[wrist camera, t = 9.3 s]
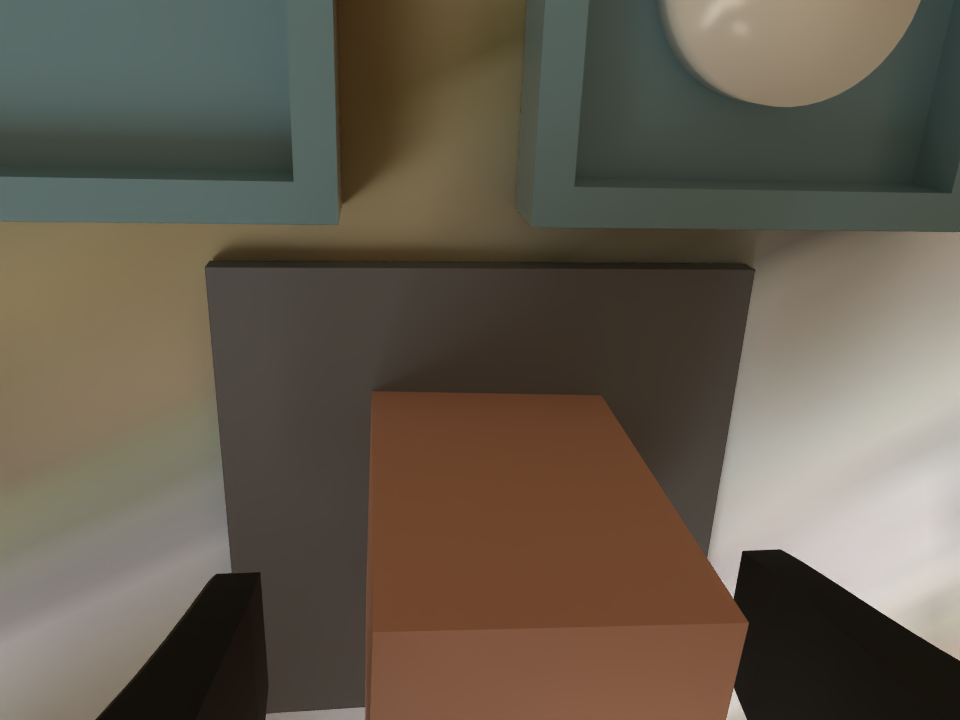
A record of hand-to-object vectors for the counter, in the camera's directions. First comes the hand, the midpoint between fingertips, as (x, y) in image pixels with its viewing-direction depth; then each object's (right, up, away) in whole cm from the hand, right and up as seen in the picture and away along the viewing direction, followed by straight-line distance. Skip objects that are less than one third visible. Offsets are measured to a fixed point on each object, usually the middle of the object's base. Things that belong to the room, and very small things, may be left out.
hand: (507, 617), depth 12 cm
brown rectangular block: (0, +1, +3) cm, 3 cm away
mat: (0, +1, +3) cm, 3 cm away
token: (+4, +10, 0) cm, 10 cm away
